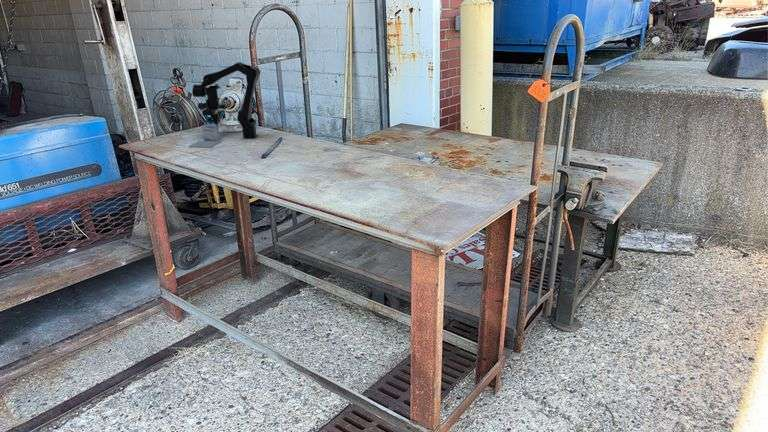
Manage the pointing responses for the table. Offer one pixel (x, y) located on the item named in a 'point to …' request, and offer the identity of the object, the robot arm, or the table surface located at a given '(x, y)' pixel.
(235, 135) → the table surface
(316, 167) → the table surface
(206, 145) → the slate mat
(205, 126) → the medicine box
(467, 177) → the table surface
